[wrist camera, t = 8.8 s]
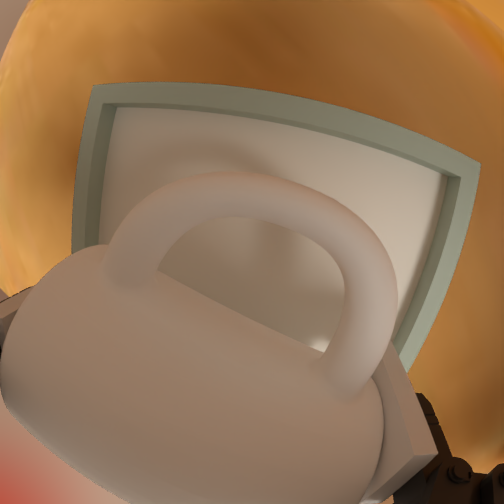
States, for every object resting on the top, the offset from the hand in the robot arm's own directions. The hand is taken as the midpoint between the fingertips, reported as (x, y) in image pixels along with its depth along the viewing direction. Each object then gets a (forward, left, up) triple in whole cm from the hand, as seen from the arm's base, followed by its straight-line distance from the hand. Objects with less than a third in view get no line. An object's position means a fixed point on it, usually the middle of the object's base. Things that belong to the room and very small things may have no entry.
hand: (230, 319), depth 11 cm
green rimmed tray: (0, 0, -8) cm, 8 cm away
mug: (0, 0, -1) cm, 1 cm away
